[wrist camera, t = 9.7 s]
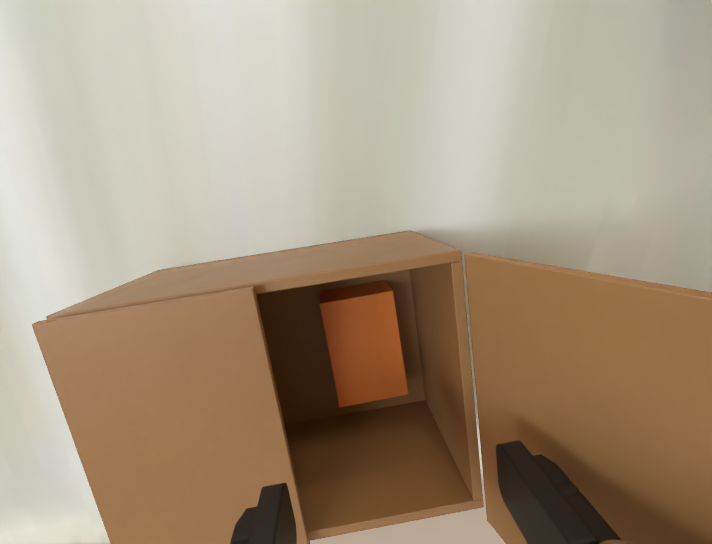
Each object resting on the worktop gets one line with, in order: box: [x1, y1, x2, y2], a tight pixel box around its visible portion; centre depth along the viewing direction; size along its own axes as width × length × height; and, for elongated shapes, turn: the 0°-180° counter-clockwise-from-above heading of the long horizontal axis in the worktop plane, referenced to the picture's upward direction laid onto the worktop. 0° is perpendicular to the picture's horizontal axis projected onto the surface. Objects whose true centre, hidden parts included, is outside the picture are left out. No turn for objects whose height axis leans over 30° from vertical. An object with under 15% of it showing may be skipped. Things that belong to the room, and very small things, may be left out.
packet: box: [319, 280, 408, 407], centre depth 23 cm, size 7×4×3 cm, turn 9°
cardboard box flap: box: [465, 253, 712, 544], centre depth 12 cm, size 8×13×1 cm
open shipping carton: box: [32, 231, 483, 544], centre depth 20 cm, size 17×13×10 cm
